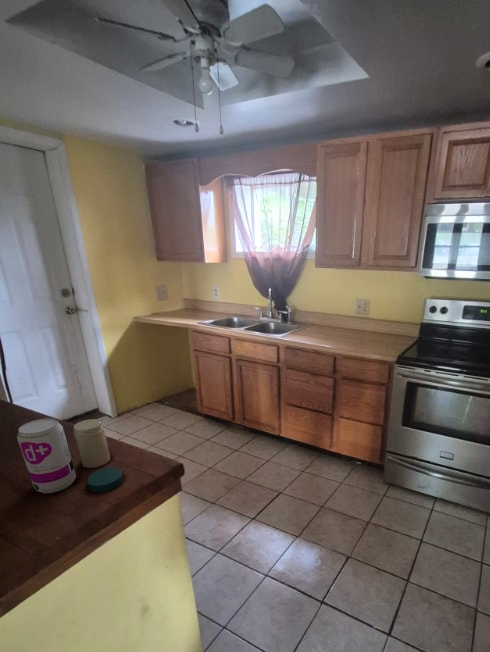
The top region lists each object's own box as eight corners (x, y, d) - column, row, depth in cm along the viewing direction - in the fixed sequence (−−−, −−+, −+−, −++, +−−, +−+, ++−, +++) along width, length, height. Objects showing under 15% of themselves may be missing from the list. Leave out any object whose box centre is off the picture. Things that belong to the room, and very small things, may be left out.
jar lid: (106, 494, 81) (105, 488, 81) (81, 488, 83) (79, 482, 83) (129, 476, 87) (128, 470, 87) (105, 471, 89) (103, 465, 89)
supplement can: (63, 495, 81) (45, 434, 75) (26, 494, 81) (5, 434, 75) (83, 473, 88) (68, 417, 82) (49, 473, 88) (31, 417, 83)
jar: (76, 466, 91) (65, 429, 87) (92, 453, 97) (84, 417, 93) (100, 469, 90) (90, 431, 86) (115, 455, 96) (107, 419, 92)
